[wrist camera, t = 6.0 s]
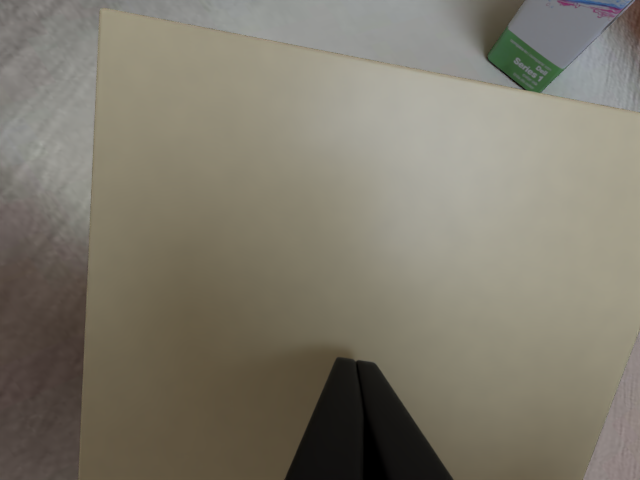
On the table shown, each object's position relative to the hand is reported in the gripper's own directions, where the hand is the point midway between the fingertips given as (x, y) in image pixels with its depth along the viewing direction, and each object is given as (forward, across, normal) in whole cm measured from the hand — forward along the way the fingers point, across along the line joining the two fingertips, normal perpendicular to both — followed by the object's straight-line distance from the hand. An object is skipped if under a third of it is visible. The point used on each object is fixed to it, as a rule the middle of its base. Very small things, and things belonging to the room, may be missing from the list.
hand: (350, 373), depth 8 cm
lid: (+2, 0, 0) cm, 2 cm away
